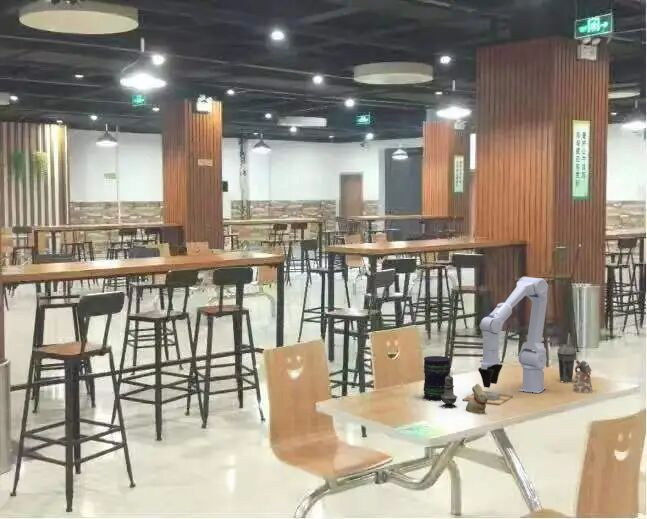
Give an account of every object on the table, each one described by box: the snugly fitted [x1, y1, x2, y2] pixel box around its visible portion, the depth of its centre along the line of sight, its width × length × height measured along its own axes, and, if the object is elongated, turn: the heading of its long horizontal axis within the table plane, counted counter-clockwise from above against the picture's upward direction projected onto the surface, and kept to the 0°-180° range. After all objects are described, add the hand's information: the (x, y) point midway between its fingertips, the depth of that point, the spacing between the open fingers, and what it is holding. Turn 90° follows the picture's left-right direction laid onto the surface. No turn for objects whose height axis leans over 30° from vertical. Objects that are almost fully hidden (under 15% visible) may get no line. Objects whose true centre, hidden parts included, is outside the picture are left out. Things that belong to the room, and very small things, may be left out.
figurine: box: [572, 359, 593, 394], centre depth 319 cm, size 7×7×12 cm
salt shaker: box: [441, 373, 458, 409], centre depth 295 cm, size 6×6×12 cm
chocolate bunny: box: [465, 383, 488, 414], centre depth 287 cm, size 6×8×10 cm
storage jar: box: [423, 355, 451, 402], centre depth 308 cm, size 10×10×15 cm
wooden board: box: [462, 392, 514, 406], centre depth 306 cm, size 15×14×1 cm
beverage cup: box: [557, 332, 577, 382], centre depth 336 cm, size 7×7×20 cm
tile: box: [483, 390, 501, 400], centre depth 306 cm, size 2×8×6 cm
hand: (490, 385), depth 308 cm, fingers open, 7 cm apart
